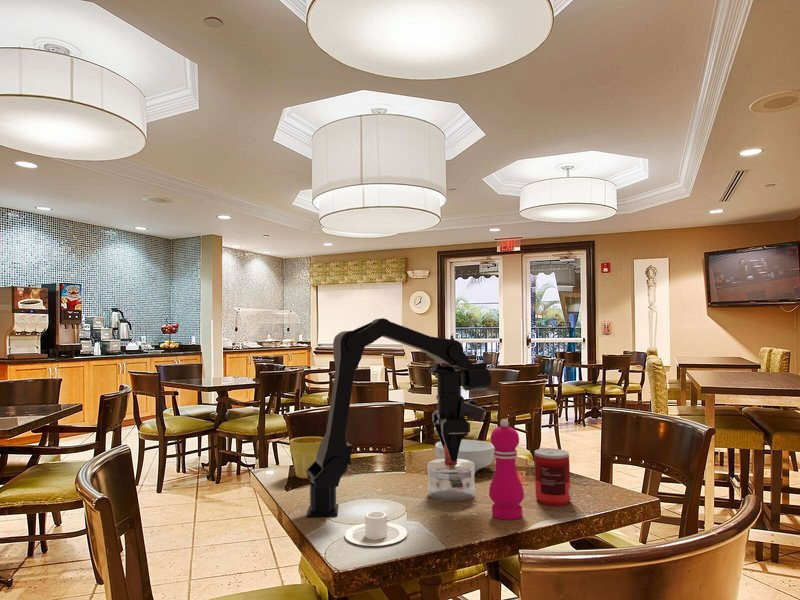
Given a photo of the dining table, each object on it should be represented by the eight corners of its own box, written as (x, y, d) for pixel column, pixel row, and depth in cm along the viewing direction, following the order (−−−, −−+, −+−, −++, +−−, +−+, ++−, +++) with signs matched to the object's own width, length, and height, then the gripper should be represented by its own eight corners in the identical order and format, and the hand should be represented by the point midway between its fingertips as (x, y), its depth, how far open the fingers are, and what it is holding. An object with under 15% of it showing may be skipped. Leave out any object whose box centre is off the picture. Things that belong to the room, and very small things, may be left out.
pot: (482, 503, 120) (481, 475, 120) (433, 505, 119) (433, 477, 119) (467, 484, 136) (466, 459, 136) (424, 485, 135) (424, 461, 135)
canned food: (555, 494, 126) (554, 447, 127) (578, 503, 119) (576, 453, 120) (528, 498, 124) (527, 450, 124) (550, 508, 116) (548, 457, 117)
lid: (479, 476, 123) (478, 448, 123) (431, 478, 122) (430, 450, 122) (469, 464, 134) (468, 439, 134) (425, 466, 133) (424, 440, 133)
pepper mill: (499, 522, 108) (496, 422, 109) (484, 511, 115) (481, 417, 116) (531, 518, 110) (527, 420, 111) (514, 507, 117) (511, 415, 118)
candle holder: (338, 530, 106) (338, 508, 106) (396, 522, 110) (395, 501, 110) (352, 553, 94) (352, 529, 95) (416, 544, 98) (415, 520, 98)
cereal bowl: (484, 480, 140) (484, 452, 140) (426, 473, 147) (426, 447, 147) (501, 465, 155) (501, 440, 155) (448, 460, 162) (447, 437, 163)
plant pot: (331, 470, 152) (331, 436, 153) (322, 480, 142) (322, 443, 142) (296, 470, 153) (295, 436, 154) (284, 480, 143) (284, 443, 143)
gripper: (491, 395, 120) (493, 465, 119) (473, 387, 139) (475, 447, 138) (442, 396, 120) (444, 466, 118) (431, 388, 138) (432, 449, 137)
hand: (450, 457), depth 128 cm, fingers open, 9 cm apart
